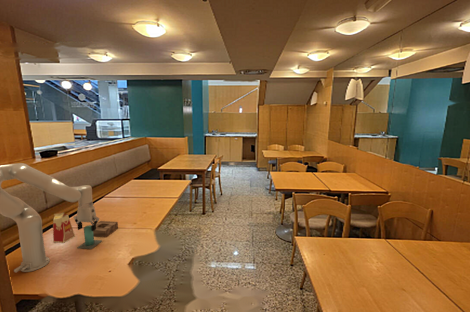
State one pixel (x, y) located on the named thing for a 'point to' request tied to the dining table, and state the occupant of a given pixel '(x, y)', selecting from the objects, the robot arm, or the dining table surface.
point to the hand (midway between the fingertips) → (86, 229)
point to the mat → (90, 245)
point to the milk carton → (62, 228)
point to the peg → (88, 235)
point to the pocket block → (105, 228)
